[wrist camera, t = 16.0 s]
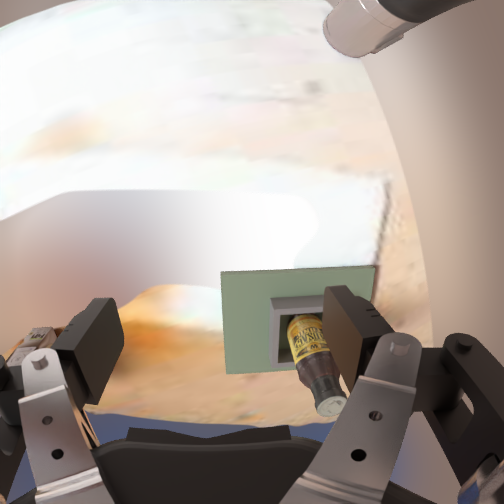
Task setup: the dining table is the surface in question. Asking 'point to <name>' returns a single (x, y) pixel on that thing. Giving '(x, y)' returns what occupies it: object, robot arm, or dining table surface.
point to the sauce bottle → (315, 363)
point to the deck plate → (276, 311)
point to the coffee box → (32, 344)
